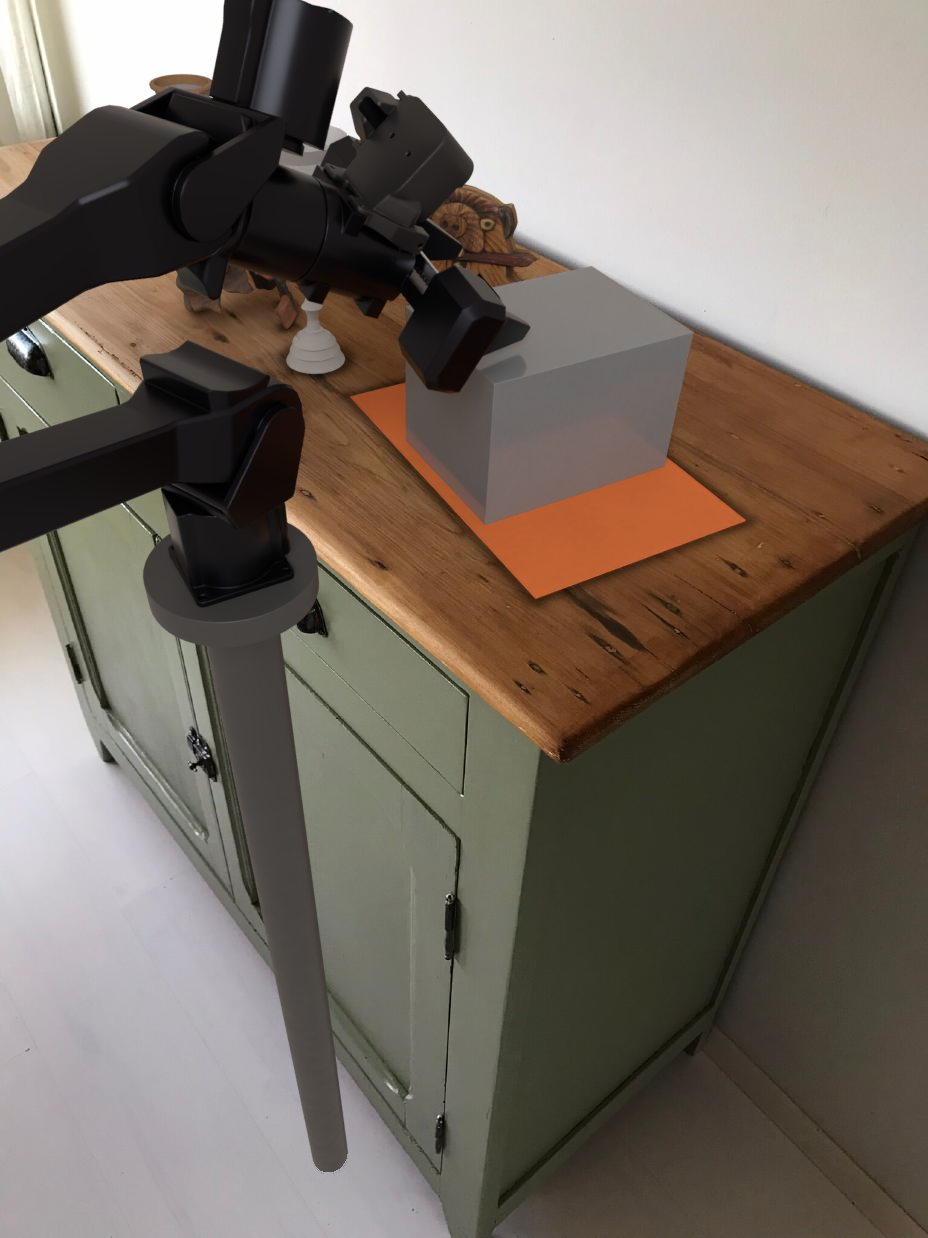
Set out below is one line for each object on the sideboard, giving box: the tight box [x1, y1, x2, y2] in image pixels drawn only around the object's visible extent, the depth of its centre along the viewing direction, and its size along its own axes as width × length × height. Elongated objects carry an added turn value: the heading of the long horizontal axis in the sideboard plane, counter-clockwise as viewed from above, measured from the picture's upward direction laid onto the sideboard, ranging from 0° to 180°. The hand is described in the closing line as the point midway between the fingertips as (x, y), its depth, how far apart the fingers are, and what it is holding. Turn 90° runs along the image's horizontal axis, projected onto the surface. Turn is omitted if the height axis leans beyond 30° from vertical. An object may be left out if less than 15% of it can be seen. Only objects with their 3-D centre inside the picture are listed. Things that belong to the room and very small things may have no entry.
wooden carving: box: [429, 183, 541, 287], centre depth 90 cm, size 16×5×10 cm, turn 75°
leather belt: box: [175, 265, 298, 330], centre depth 87 cm, size 12×10×8 cm
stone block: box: [404, 265, 694, 525], centre depth 70 cm, size 16×12×11 cm
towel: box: [350, 382, 746, 600], centre depth 74 cm, size 18×28×1 cm, turn 30°
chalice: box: [279, 125, 348, 375], centre depth 77 cm, size 7×7×18 cm
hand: (491, 290), depth 64 cm, fingers open, 9 cm apart
